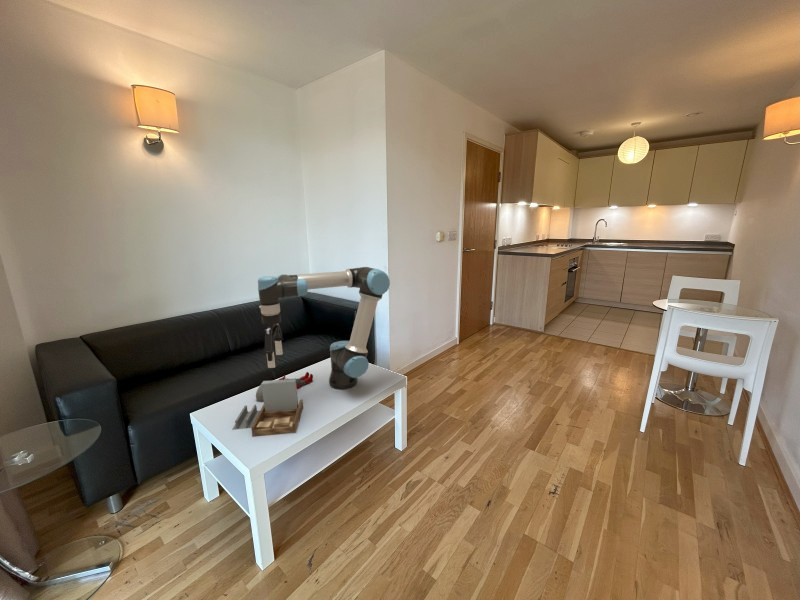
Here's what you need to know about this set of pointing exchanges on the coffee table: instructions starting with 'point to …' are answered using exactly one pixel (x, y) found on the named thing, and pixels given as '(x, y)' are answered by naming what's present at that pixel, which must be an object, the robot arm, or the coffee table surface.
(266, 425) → the offcut
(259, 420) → the rack
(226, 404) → the coffee table surface
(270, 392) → the grey flat slab
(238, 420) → the stand
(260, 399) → the toy
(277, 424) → the offcut
